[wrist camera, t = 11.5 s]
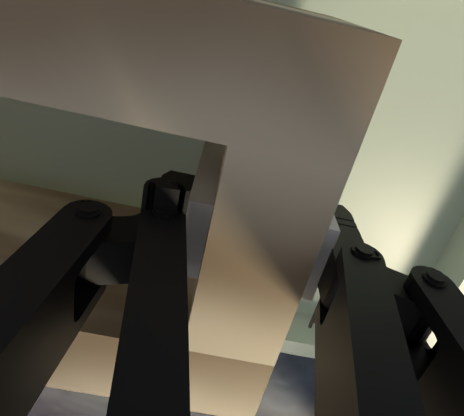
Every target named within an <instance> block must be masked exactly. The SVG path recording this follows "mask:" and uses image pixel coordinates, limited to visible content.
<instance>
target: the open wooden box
mask: <svg viewBox="0 0 464 416" xmlns="http://www.w3.org/2000/svg"><path fill="white" fill-rule="evenodd" d="M401 43H402V40H401V39H398V38H395V37H392V36H389V35H386V34H383V33H380V32H377V31H374V30H371V29H368V28H365V27H362V26H359V25H356V24H353V23H350V22H347V21H345V20H342V19H339V18H336V17H333V16H329V15H325V14H321V13H317V12H312V11H308V10H304V9H300V8H296V7H292V6H288V5H284V4H280V3H276V2H271V1H267V0H0V96H1V97H5V98H10V99H15V100H19V101H24V102H28V103H33V104H38V105H42V106H47V107H51V108H56V109H61V110H65V111H70V112H74V113H79V114H84V115H88V116H93V117H97V118H102V119H107V120H111V121H116V122H121V123H125V124H130V125H134V126H139V127H144V128H148V129H153V130H157V131H162V132H167V133H171V134H176V135H180V136H185V137H190V138H194V139H199V140H203V141H208V142H213V143H217V144H222V145H224V147H223V153H222V159H221V165H220V171H219V177H218V183H217V189H216V195H215V201H214V206H213V211H212V216H211V220H210V225H209V229H208V234H207V238H206V243H205V248H204V252H203V257H202V261H201V266H200V270H199V275H198V279H196V278H191V277H187V285H188V331H189V377H190V411H192V412H198V413H204V414H210V415H216V416H255V415H256V412H257V410H258V407H259V404H260V402H261V399H262V397H263V394H264V392H265V389H266V387H267V384H268V382H269V379H270V376H271V374H272V371H273V369H274V366H275V364H276V361H277V359H278V356H279V353H280V351H281V348H282V346H283V343H284V341H285V338H286V336H287V333H288V331H289V328H290V325H291V323H292V320H293V318H294V315H295V313H296V310H297V308H298V305H299V303H300V300H301V297H302V295H303V292H304V290H305V287H306V285H307V282H308V280H309V277H310V275H311V272H312V269H313V267H314V264H315V262H316V259H317V257H318V254H319V252H320V249H321V246H322V244H323V241H324V239H325V236H326V234H327V231H328V229H329V226H330V224H331V221H332V218H333V216H334V213H335V211H336V208H337V206H338V203H339V201H340V198H341V196H342V193H343V190H344V188H345V185H346V183H347V180H348V178H349V175H350V173H351V170H352V168H353V165H354V162H355V160H356V157H357V155H358V152H359V150H360V147H361V145H362V142H363V139H364V137H365V134H366V132H367V129H368V127H369V124H370V122H371V119H372V117H373V114H374V111H375V109H376V106H377V104H378V101H379V99H380V96H381V94H382V91H383V89H384V86H385V83H386V81H387V78H388V76H389V73H390V71H391V68H392V66H393V63H394V61H395V58H396V55H397V53H398V50H399V48H400V45H401ZM84 199H85V200H86V199H89V200H94V201H99V202H102V203H104V204H106V205H107V206H109V207H110V208H111V210H112V212H113V214H112V216H132V215H136V214H139V213H140V212H141V208H139V207H134V206H129V205H124V204H119V203H114V202H109V201H104V200H99V199H95V198H90V197H85V196H80V195H75V194H70V193H65V192H60V191H55V190H50V189H45V188H40V187H36V186H31V185H26V184H21V183H16V182H11V181H6V180H1V179H0V265H1V264H2V263H3V262H5V261H6V260H7V259H8V258H9V257H10V256H11V255H12V254H13V253H14V252H15V251H16V250H17V249H19V248H20V247H21V246H22V245H23V244H24V243H25V242H26V241H27V240H28V239H29V238H30V237H31V236H33V235H34V234H35V233H36V232H37V231H38V230H39V229H40V228H41V227H42V226H43V225H44V224H45V223H47V222H48V221H49V220H50V219H51V218H52V217H53V216H54V215H55V214H56V213H57V212H58V211H59V210H61V209H62V208H63V207H64V206H65V205H67V204H68V203H70V202H73V201H77V200H84ZM127 289H128V284H113V285H107V286H106V290H105V291H104V293H103V295H102V296H101V298H100V299H99V301H98V303H97V304H96V306H95V307H94V309H93V311H92V312H91V314H90V315H89V317H88V319H87V320H86V322H85V323H84V325H83V327H82V328H81V330H80V331H79V333H78V335H77V336H76V338H75V339H74V341H73V343H72V344H71V346H70V347H69V349H68V351H67V352H66V354H65V355H64V357H63V359H62V360H61V362H60V363H59V365H58V367H57V368H56V370H55V371H54V373H53V375H52V376H51V378H50V379H49V381H48V382H47V384H46V387H52V388H57V389H63V390H69V391H75V392H81V393H87V394H93V395H98V396H104V397H110V391H111V385H112V379H113V373H114V367H115V361H116V355H117V349H118V343H119V337H120V331H121V325H122V319H123V313H124V307H125V301H126V295H127Z"/></svg>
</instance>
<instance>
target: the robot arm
mask: <svg viewBox="0 0 464 416" xmlns="http://www.w3.org/2000/svg"><path fill="white" fill-rule="evenodd" d="M223 147H224V145H222V144H217V143H213V142H208V141H205V144H204V147H203V151H202V154H201V158H200V161H199V165H198V168H197V172H196V175H191V174H186V173H182V172H177V171H172V170H170V171H168V172H166V173H165V174H163V175H162V177H159V178H152V179H150V180H148V181H146V182H145V184H144V187H143V195H142V204H141V212H140V213H139V214H136V215H132V216H112V214H113V212H112V210H111V208H110V207H109V206H107V205H106V204H104V203H102V202H99V201H94V200H89V199H86V200H85V199H84V200H77V201H73V202H70V203H68V204H67V205H65V206H64V207H63V208H62V209H61V210H59V211H58V212H57V213H56V214H55V215H54V216H53V217H52V218H51V219H50V220H49V221H48V222H47V223H45V224H44V225H43V226H42V227H41V228H40V229H39V230H38V231H37V232H36V233H35V234H34V235H33V236H31V237H30V238H29V239H28V240H27V241H26V242H25V243H24V244H23V245H22V246H21V247H20V248H19V249H17V250H16V251H15V252H14V253H13V254H12V255H11V256H10V257H9V258H8V259H7V260H6V261H5V262H3V263H2V264H1V265H0V416H27V414H28V413H29V411H30V410H31V408H32V406H33V405H34V403H35V402H36V400H37V398H38V397H39V395H40V394H41V392H42V390H43V389H44V387H45V386H46V384H47V382H48V381H49V379H50V378H51V376H52V375H53V373H54V371H55V370H56V368H57V367H58V365H59V363H60V362H61V360H62V359H63V357H64V355H65V354H66V352H67V351H68V349H69V347H70V346H71V344H72V343H73V341H74V339H75V338H76V336H77V335H78V333H79V331H80V330H81V328H82V327H83V325H84V323H85V322H86V320H87V319H88V317H89V315H90V314H91V312H92V311H93V309H94V307H95V306H96V304H97V303H98V301H99V299H100V298H101V296H102V295H103V293H104V291H105V290H106V286H107V285H113V284H128V289H127V295H126V301H125V307H124V313H123V319H122V325H121V331H120V337H119V343H118V349H117V355H116V361H115V367H114V373H113V379H112V385H111V391H110V397H109V403H108V409H107V415H106V416H190V377H189V331H188V285H187V277H191V278H196V279H198V275H199V270H200V266H201V261H202V257H203V252H204V248H205V243H206V238H207V234H208V229H209V225H210V220H211V216H212V211H213V206H214V201H215V195H216V189H217V183H218V177H219V171H220V165H221V159H222V153H223ZM317 288H318V290H319V294H320V299H319V301H318V303H317V306H316V308H315V310H314V313H313V315H312V318H311V320H310V322H309V325H308V328H312V325H313V324H314V323H315V416H464V294H463V293H462V292H461V291H460V289H459V288H458V287H457V286H456V284H455V283H454V282H453V281H452V280H451V279H450V278H449V277H447V276H446V275H444V274H443V273H442V272H441V271H439V270H436V269H434V268H432V267H426V266H415V267H412V269H411V271H410V273H409V274H408V275H406V274H403V273H400V272H398V271H395V270H393V269H390V268H388V267H386V263H385V259H384V257H383V256H382V254H381V253H380V252H379V251H378V250H377V249H375V248H374V247H372V246H370V245H368V244H366V243H364V241H363V239H362V236H361V234H360V232H359V230H358V229H357V225H356V223H355V222H354V219H353V216H352V214H351V213H350V212H349V211H348V210H347V209H346V208H345V207H344V206H343V205H339V204H338V206H337V208H336V211H335V213H334V216H333V218H332V221H331V224H330V226H329V229H328V231H327V234H326V236H325V239H324V241H323V244H322V246H321V249H320V252H319V254H318V257H317V259H316V262H315V264H314V267H313V269H312V272H311V275H310V277H309V280H308V282H307V285H306V287H305V290H304V292H303V295H302V297H301V299H305V300H310V301H312V300H313V298H314V295H315V293H316V290H317ZM431 332H433V333H434V335H435V337H436V339H437V342H436V343H435V345H434V346H433V347H432V348H431V347H430V346H429V344H428V343H427V341H426V340H427V339H428V337H429V335H430V334H431Z"/></svg>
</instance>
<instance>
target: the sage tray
mask: <svg viewBox="0 0 464 416" xmlns="http://www.w3.org/2000/svg"><path fill="white" fill-rule="evenodd" d="M267 1H271V2H276V3H280V4H284V5H288V6H292V7H296V8H300V9H304V10H308V11H312V12H317V13H321V14H325V15H329V16H333V17H336V18H339V19H342V20H345V21H347V22H350V23H353V24H356V25H359V26H362V27H365V28H368V29H371V30H374V31H377V32H380V33H383V34H386V35H389V36H392V37H395V38H398V39H401V40H402V43H401V45H400V48H399V50H398V53H397V55H396V58H395V61H394V63H393V66H392V68H391V71H390V73H389V76H388V78H387V81H386V83H385V86H384V89H383V91H382V94H381V96H380V99H379V101H378V104H377V106H376V109H375V111H374V114H373V117H372V119H371V122H370V124H369V127H368V129H367V132H366V134H365V137H364V139H363V142H362V145H361V147H360V150H359V152H358V155H357V157H356V160H355V162H354V165H353V168H352V170H351V173H350V175H349V178H348V180H347V183H346V185H345V188H344V190H343V193H342V196H341V198H340V201H339V203H338V204H339V205H343V206H344V207H345V208H346V209H347V210H348V211H349V212H350V213H351V214H352V216H353V219H354V222H355V223H356V225H357V229H358V230H359V232H360V234H361V236H362V239H363V241H364V243H366V244H368V245H370V246H372V247H374V248H375V249H377V250H378V251H379V252H380V253H381V254H382V256H383V257H384V259H385V263H386V267H388V268H390V269H393V270H395V271H398V272H400V273H403V274H406V275H408V274H409V273H410V271H411V269H412V267H415V266H426V267H432V268H434V269H436V270H439V271H441V272H442V273H443V274H444V275H446V276H447V277H449V278H450V279H451V280H452V281H453V282H454V283H455V284H456V286H457V287H458V288H459V289H460V291H461V292H462V293H463V294H464V0H267ZM204 144H205V141H203V140H199V139H194V138H190V137H185V136H180V135H176V134H171V133H167V132H162V131H157V130H153V129H148V128H144V127H139V126H134V125H130V124H125V123H121V122H116V121H111V120H107V119H102V118H97V117H93V116H88V115H84V114H79V113H74V112H70V111H65V110H61V109H56V108H51V107H47V106H42V105H38V104H33V103H28V102H24V101H19V100H15V99H10V98H5V97H1V96H0V179H1V180H6V181H11V182H16V183H21V184H26V185H31V186H36V187H40V188H45V189H50V190H55V191H60V192H65V193H70V194H75V195H80V196H85V197H90V198H95V199H99V200H104V201H109V202H114V203H119V204H124V205H129V206H134V207H139V208H141V204H142V195H143V187H144V184H145V182H146V181H148V180H150V179H152V178H159V177H162V175H163V174H165V173H166V172H168V171H170V170H172V171H177V172H182V173H186V174H191V175H196V172H197V168H198V165H199V161H200V158H201V154H202V151H203V147H204ZM319 299H320V294H319V290H318V288H317V290H316V293H315V295H314V298H313V300H312V301H310V300H305V299H301V300H300V303H299V305H298V308H297V310H296V313H295V315H294V318H293V320H292V323H291V325H290V328H289V331H288V333H287V336H286V338H285V341H284V343H283V346H282V348H281V351H280V352H281V353H287V354H292V355H298V356H303V357H309V358H314V359H315V323H314V324H313V325H312V328H308V325H309V322H310V320H311V318H312V315H313V313H314V310H315V308H316V306H317V303H318V301H319ZM426 341H427V343H428V344H429V346H430V347H431V348H432V347H433V346H434V345H435V343H436V342H437V339H436V337H435V335H434V333H433V332H431V334H430V335H429V337H428V339H427V340H426Z"/></svg>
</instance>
